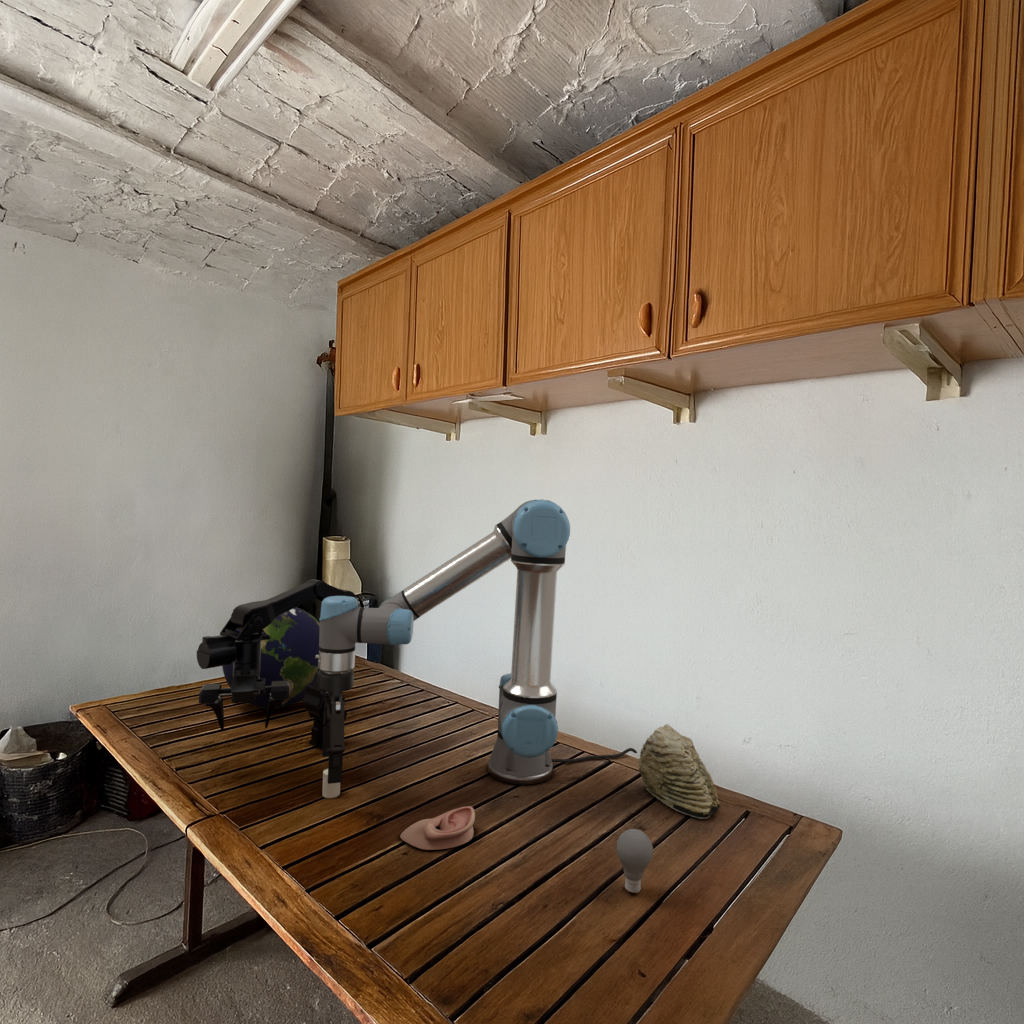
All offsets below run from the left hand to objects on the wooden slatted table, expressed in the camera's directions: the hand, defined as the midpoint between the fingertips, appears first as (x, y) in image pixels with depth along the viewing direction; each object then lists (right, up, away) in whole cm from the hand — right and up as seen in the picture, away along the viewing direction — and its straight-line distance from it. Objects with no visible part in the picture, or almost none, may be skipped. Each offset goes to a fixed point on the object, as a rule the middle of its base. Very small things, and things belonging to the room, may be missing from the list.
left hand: (244, 729), depth 144 cm
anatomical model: (+47, -12, -24) cm, 54 cm away
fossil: (+97, -14, -6) cm, 98 cm away
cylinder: (+22, -11, -9) cm, 26 cm away
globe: (-9, -8, +44) cm, 46 cm away
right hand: (+22, -5, -9) cm, 25 cm away
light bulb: (+81, -14, -39) cm, 91 cm away
